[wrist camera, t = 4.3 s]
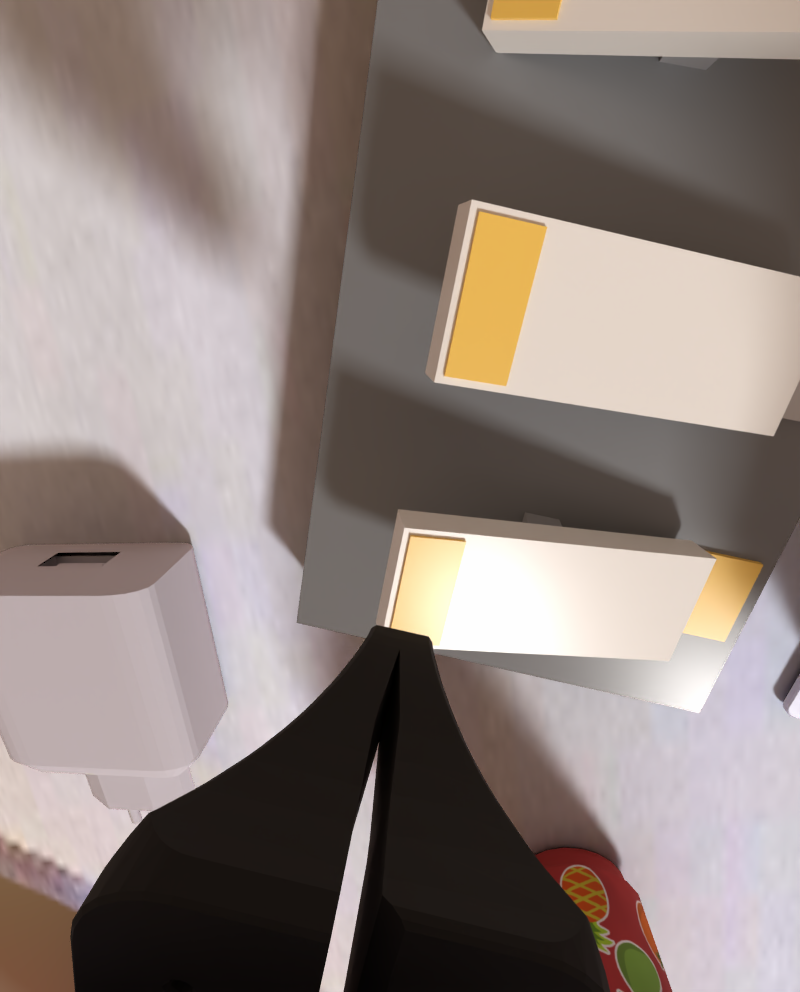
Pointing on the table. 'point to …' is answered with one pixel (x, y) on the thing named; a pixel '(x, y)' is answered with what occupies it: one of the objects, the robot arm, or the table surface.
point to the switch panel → (529, 421)
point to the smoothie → (610, 918)
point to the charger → (108, 668)
